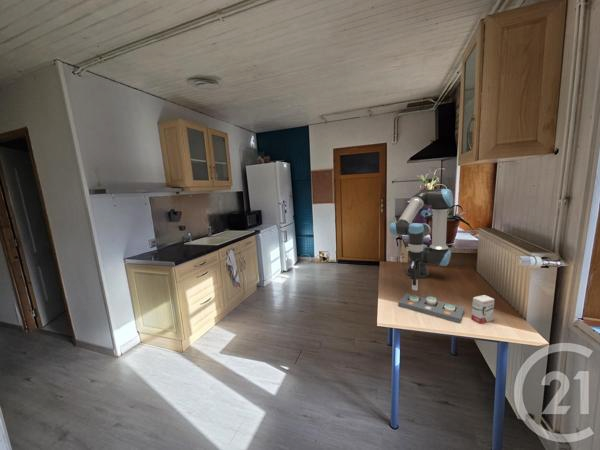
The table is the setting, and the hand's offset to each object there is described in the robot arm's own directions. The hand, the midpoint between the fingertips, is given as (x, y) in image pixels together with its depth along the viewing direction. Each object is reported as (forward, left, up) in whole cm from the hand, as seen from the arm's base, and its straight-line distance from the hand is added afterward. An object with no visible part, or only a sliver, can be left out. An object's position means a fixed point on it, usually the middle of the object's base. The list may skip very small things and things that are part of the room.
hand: (414, 289), depth 141 cm
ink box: (0, +32, -9) cm, 33 cm away
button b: (+1, +9, -6) cm, 11 cm away
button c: (+1, +18, -8) cm, 20 cm away
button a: (+1, 0, -8) cm, 8 cm away
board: (+3, +9, -8) cm, 12 cm away
